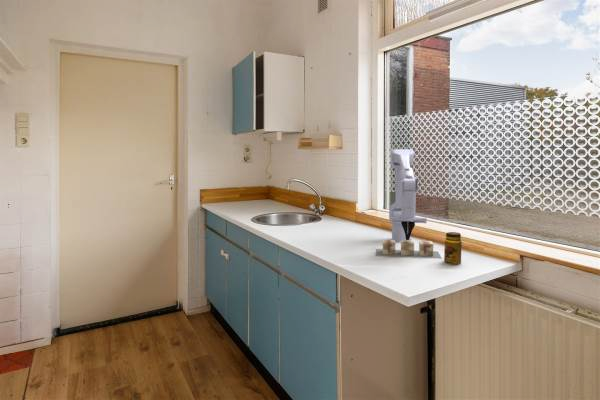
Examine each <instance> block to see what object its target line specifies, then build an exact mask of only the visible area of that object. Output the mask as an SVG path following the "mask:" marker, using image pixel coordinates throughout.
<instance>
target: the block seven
mask: <svg viewBox="0 0 600 400" xmlns="http://www.w3.org/2000/svg"><path fill="white" fill-rule="evenodd" d="M418 244H419V245H418V251H419V254H420V256H433V251H434V243H433V241H432V240H419V242H418Z"/></svg>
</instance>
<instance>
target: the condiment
mask: <svg viewBox="0 0 600 400" xmlns="http://www.w3.org/2000/svg"><path fill="white" fill-rule="evenodd" d="M461 236H462V235H461V233H460V232H456V231H449V232H448V231H447V232H446V234H445V239H444V251H443V252H444V255H443V256H444V257H443V258H444V259H443V261H444V263H445V264H448V265H456V266H457V265H460V264H461V263H462V245H463V244H462V240H461V239H462V237H461Z"/></svg>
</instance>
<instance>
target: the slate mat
mask: <svg viewBox="0 0 600 400" xmlns="http://www.w3.org/2000/svg"><path fill="white" fill-rule="evenodd" d="M440 254H441V253H439V251H434V250H433V256H420V254H419V250H414V255H401V249H395V255H390V254H383V248H382V249H380V248H379V249H377V248H376V249H375V257H392V258H393V257H395V258H415V259H416V258H418V259H443V258H442V256H441V255H440Z"/></svg>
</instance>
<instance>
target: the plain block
mask: <svg viewBox="0 0 600 400" xmlns="http://www.w3.org/2000/svg"><path fill="white" fill-rule="evenodd" d="M400 250H401V255H414V251H415V241H414V240H410V241H405V240H401V242H400Z"/></svg>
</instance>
